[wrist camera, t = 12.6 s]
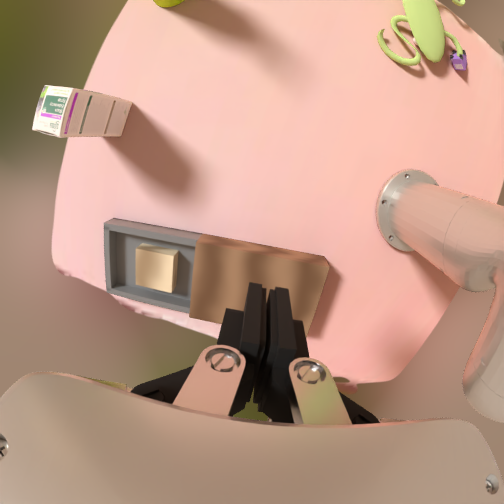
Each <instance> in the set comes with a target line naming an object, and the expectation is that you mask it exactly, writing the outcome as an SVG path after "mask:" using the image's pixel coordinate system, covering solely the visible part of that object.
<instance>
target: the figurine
mask: <svg viewBox="0 0 504 504" xmlns="http://www.w3.org/2000/svg"><path fill="white" fill-rule="evenodd" d="M452 1H453V3H455V4H456V5H458V6H463V5H464V4H465V0H460V2H459V1H458V0H452ZM403 6H404V9H405V13H406V16H404V15H396V16H394V17H392V19H391V21H390V23H391V26H392V28H393V29H394V31H395V32H396V33H397V34H398V35H399V36H400V37H401V38H402V39H403V40H404V41H406V42H407V43H408V44H409V45H411V46H412V47H413V48H414V49H415V51H416V56H415V57H414V58H412V59H407V58H402V57H400V56H398V55H396V54H395V53H393V52H392V51H391V50H390V49H389V48H388V47H387V45H386V44H385V41H384V39H383V32H384V29H383V30H380V31H379V32H378V36H377V39H378V43H379V45H380V47H381V49H382V50H383V51H384V53H385V54H386V55H387V56H388V57H390V58H391V59H393V60H394V61H396V62H398V63H400V64H402V65H408V66H414V65H417V64H418V63H420V60H421V56H420V54H419V52H418V51H417V50H416V48H415V47H414V46H413V45H412V44H411V43H410V42H409V41H408V40H407V39H406V38H405V37H404V36H403V35H402V34H401V33H400V32H399V30H398V28H397V22H400V21H404V22H408V23H409V25H410V28H411V30H412V33H413V36H414V39H413V42H414V43H415V44H416V45H419V47H420V49H421V51H422V52H423V53H424V55H425V56H426V57H427V59H429V60H430V61H432V62H434V63H436V62H439V61H440V60H441V58H442V56H443V54H444V47H445V37H444V36H447V37H449V38H450V39H451V40H452V42H453V43H454V45H455V46H456V49H457V51H455V50H453V55H450V58H451V61H452V63H453V66H454V68H455V70H465V71H466V66H467V60H466V53H465V50H462V48H461V46H460V44H459V42H458V41H457V39H456V38H455V37H454V36H453V35H452V34H450V33H448V32H447V31H445V30H444V28H443V24H442V20H441V16H440V13H439V10H438V8H437V6H436V3H435V1H434V0H403Z"/></svg>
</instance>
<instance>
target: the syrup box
mask: <svg viewBox="0 0 504 504" xmlns="http://www.w3.org/2000/svg"><path fill="white" fill-rule="evenodd" d="M131 105H132V102H130V101H127V100H124V99H121V98H117V97H113V96H109V95H105V94H101V93H97V92H93V91H87V90H81V89H76V88H68V87H59V86H49V85H45V86H44V88H43V91H42V94H41V97H40V99H39V103H38V106H37V109H36V113H35V118H34V123H33V128H32V129H33V130H35V131H39V132H42V133H45V134H48V135H53V136H56V137H60V138H62V137H98V136H99V137H102V136H104V137H105V136H107V137H120V136H121V135H122V132H123V129H124V126H125V123H126V120H127V117H128V114H129V111H130V108H131Z"/></svg>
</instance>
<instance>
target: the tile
mask: <svg viewBox="0 0 504 504" xmlns="http://www.w3.org/2000/svg"><path fill="white" fill-rule="evenodd" d="M178 252H179V250H175V249H170V248H164V247H159V246H154V245H149V244H144V243H142V244H141V245H139V246H138V247H137V248H136V285H140V286H144V287H148V288H152V289H156V290H160V291H165V292H169V293H172V292H173V290H174V288H175V287H176V281H177V266H178Z"/></svg>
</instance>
